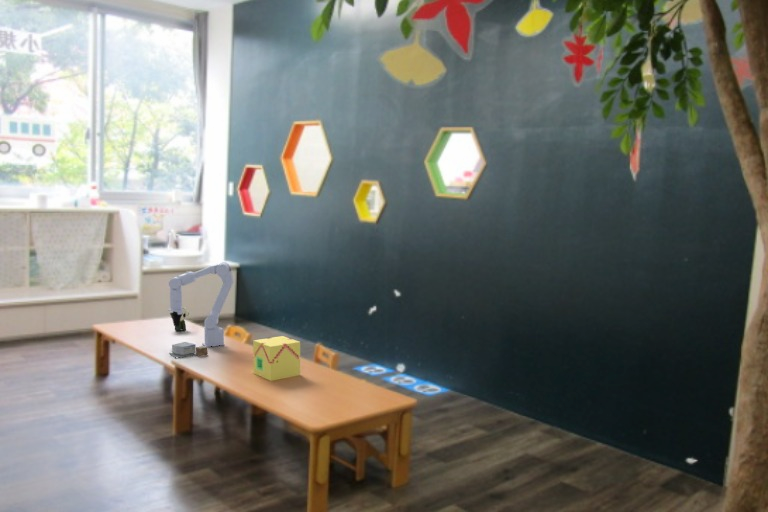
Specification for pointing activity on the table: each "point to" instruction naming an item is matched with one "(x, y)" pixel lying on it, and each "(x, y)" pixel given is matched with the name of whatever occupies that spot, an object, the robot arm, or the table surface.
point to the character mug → (182, 320)
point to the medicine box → (184, 348)
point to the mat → (180, 355)
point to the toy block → (276, 358)
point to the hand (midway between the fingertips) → (176, 326)
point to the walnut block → (201, 350)
